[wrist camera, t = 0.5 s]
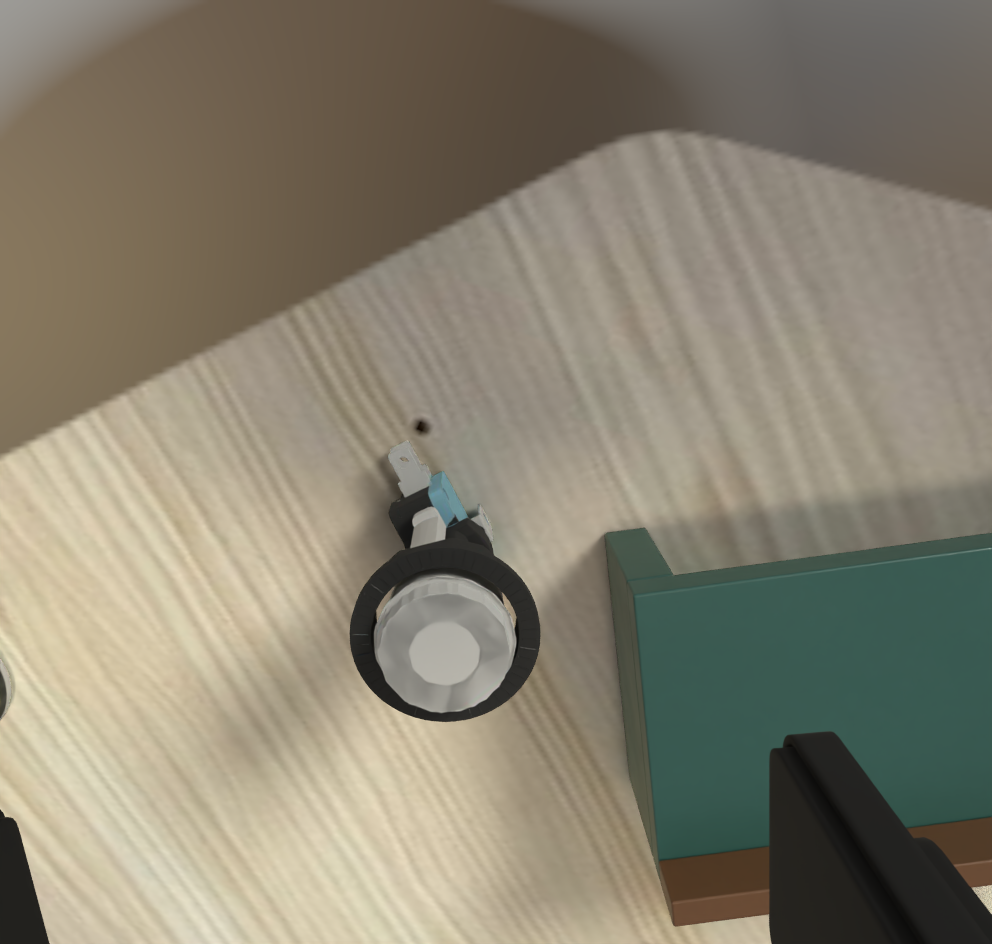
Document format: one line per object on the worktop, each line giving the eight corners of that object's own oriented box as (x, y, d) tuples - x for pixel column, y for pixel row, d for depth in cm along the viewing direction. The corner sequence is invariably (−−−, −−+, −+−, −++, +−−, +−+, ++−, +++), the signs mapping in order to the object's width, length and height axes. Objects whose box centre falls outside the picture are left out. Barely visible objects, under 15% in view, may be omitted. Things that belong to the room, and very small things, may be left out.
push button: (338, 471, 32) (282, 572, 22) (466, 408, 32) (465, 483, 22) (421, 618, 34) (402, 770, 24) (544, 559, 33) (575, 691, 24)
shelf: (604, 532, 33) (645, 622, 25) (1175, 455, 33) (1392, 522, 25) (629, 779, 36) (673, 927, 28) (1154, 709, 36) (1342, 839, 28)
